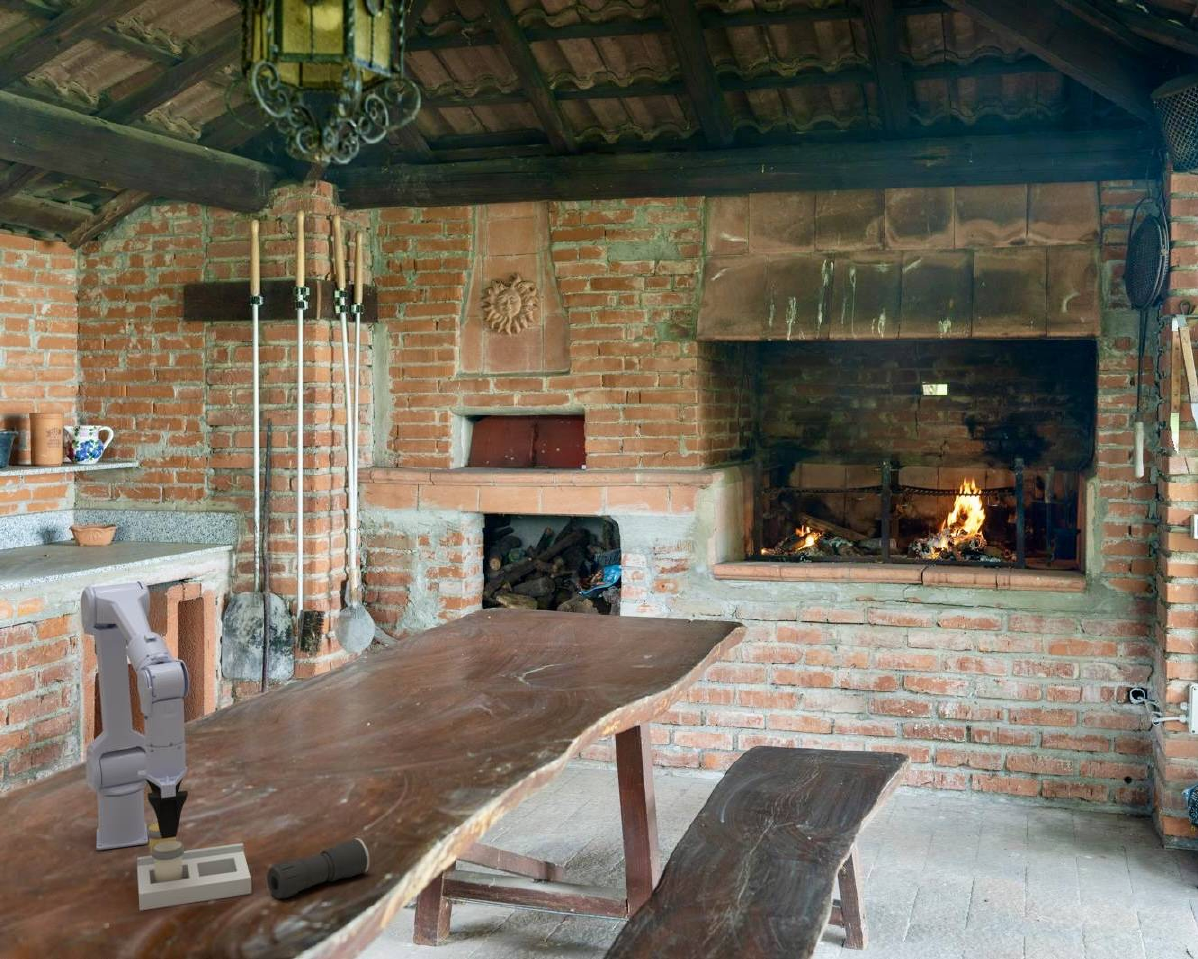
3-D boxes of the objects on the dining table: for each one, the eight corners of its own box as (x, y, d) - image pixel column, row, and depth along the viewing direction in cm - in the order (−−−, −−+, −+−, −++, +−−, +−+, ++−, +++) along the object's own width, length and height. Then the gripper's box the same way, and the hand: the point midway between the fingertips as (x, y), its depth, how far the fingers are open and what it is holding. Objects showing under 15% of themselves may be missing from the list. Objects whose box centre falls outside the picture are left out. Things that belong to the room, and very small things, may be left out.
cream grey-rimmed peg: (153, 886, 191) (151, 842, 191) (184, 881, 193) (183, 838, 192) (153, 898, 187) (151, 853, 186) (185, 893, 189) (183, 849, 188)
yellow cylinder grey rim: (147, 864, 199) (146, 822, 199) (178, 860, 201) (176, 819, 200) (148, 875, 195) (147, 833, 194) (179, 871, 197) (178, 828, 196)
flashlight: (281, 906, 185) (281, 871, 184) (264, 894, 189) (263, 860, 188) (369, 876, 195) (369, 843, 195) (351, 866, 199) (350, 834, 199)
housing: (137, 879, 194) (136, 857, 193) (243, 864, 200) (242, 843, 199) (139, 910, 183) (138, 887, 182) (251, 893, 189) (250, 871, 188)
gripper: (135, 730, 193) (138, 815, 194) (138, 758, 180) (141, 849, 181) (183, 726, 196) (185, 809, 197) (189, 753, 182) (191, 842, 183)
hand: (167, 828), depth 189 cm, fingers open, 7 cm apart
